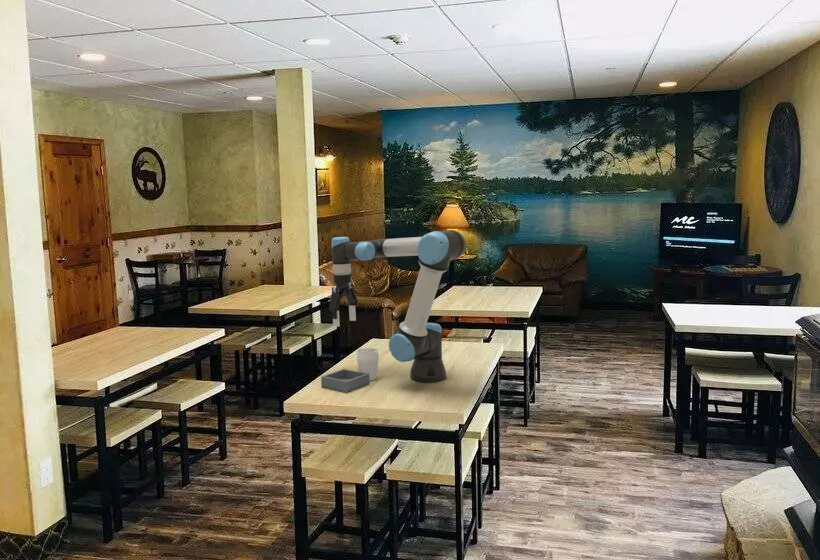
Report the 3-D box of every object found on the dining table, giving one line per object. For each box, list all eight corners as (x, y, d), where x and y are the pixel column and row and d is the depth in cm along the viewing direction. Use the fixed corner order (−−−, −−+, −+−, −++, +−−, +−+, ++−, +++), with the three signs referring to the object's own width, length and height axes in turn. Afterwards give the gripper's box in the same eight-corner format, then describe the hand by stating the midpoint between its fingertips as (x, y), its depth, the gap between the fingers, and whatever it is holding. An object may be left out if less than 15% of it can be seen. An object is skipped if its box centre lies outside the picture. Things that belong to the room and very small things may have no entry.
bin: (369, 384, 273) (369, 373, 273) (346, 392, 263) (346, 381, 262) (344, 379, 282) (344, 368, 281) (321, 387, 271) (321, 376, 270)
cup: (376, 382, 277) (375, 353, 275) (354, 381, 278) (354, 352, 277) (381, 376, 285) (380, 348, 284) (360, 375, 287) (360, 347, 286)
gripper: (349, 270, 297) (351, 317, 300) (318, 277, 275) (321, 328, 278) (364, 270, 294) (366, 318, 297) (334, 277, 272) (337, 329, 274)
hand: (344, 323), depth 287 cm, fingers open, 13 cm apart
